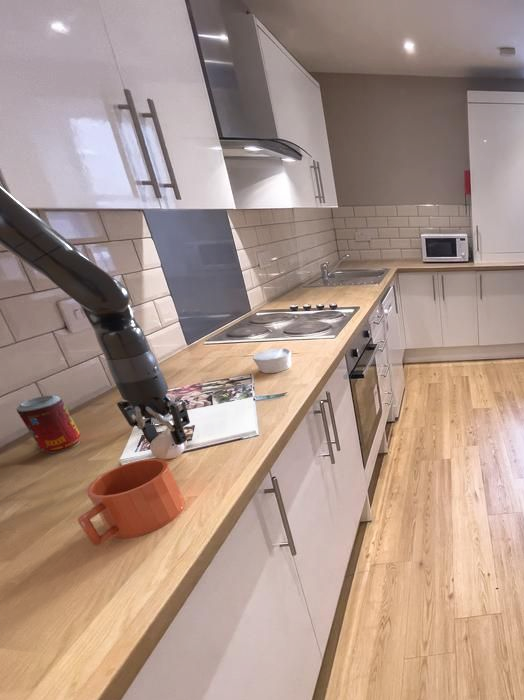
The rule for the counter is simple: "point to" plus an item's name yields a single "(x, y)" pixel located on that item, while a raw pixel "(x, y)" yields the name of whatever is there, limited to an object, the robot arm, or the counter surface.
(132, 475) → the mug
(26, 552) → the counter surface
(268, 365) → the ramekin
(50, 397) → the soda can
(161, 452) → the garlic bulb
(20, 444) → the counter surface
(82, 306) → the robot arm
